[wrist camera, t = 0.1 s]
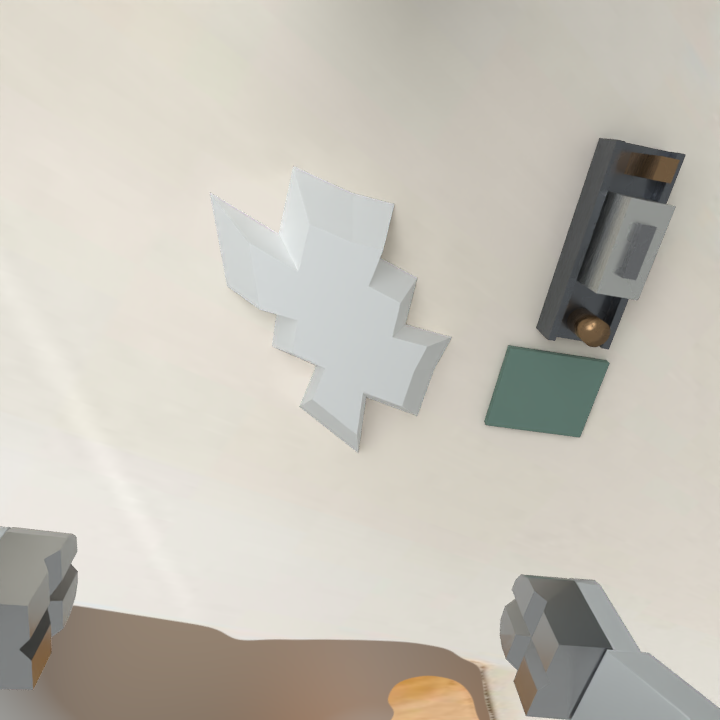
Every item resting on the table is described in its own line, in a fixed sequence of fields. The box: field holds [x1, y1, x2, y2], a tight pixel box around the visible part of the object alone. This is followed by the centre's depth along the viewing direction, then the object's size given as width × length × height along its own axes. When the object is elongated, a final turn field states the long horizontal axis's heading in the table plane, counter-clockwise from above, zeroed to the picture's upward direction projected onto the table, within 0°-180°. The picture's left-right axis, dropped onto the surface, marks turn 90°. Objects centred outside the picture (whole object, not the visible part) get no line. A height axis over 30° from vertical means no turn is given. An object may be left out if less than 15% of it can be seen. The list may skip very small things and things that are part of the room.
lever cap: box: [577, 191, 676, 300], centre depth 54 cm, size 9×4×6 cm, turn 169°
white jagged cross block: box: [210, 166, 452, 452], centre depth 58 cm, size 35×20×6 cm, turn 25°
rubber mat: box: [484, 345, 609, 437], centre depth 65 cm, size 10×12×1 cm
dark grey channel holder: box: [536, 138, 685, 349], centre depth 55 cm, size 20×7×7 cm, turn 169°
